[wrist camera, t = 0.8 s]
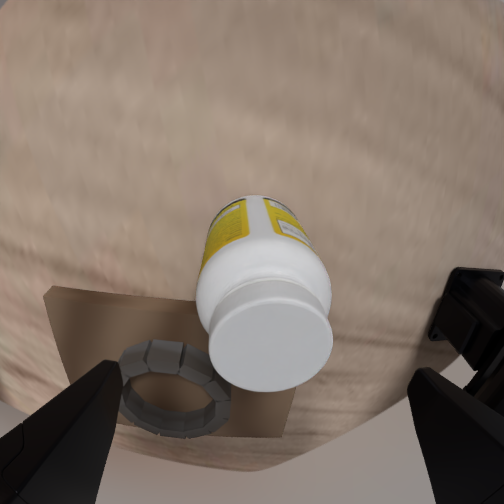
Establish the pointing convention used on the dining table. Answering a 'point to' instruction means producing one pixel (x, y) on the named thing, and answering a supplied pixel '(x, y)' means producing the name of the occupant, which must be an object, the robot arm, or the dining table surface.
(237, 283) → the supplement bottle
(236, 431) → the socket board
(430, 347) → the dining table surface
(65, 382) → the dining table surface
